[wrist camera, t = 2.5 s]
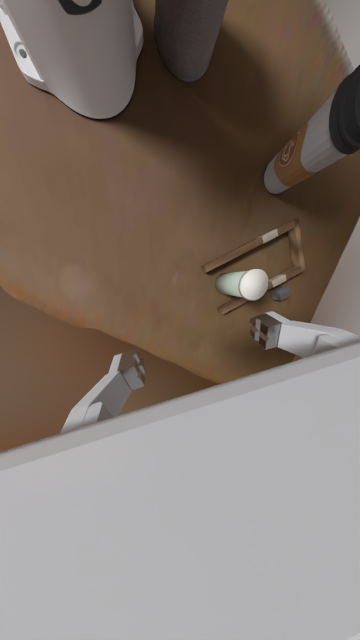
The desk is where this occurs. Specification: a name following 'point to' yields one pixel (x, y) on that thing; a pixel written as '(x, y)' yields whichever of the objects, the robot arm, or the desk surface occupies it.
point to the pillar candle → (187, 34)
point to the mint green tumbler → (243, 284)
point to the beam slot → (278, 292)
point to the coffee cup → (319, 138)
